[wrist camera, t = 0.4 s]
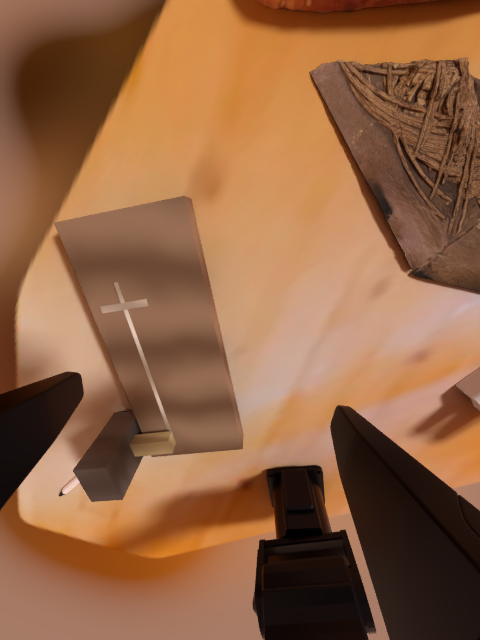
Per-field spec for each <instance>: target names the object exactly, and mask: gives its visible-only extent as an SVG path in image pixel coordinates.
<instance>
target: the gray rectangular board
mask: <svg viewBox="0 0 480 640" xmlns="http://www.w3.org/2000/svg"><path fill="white" fill-rule="evenodd" d="M54 224H55V226H56V229H57V231H58V234H59V236H60V238H61V241H62V243H63V245H64V248H65V250H66V253H67V255H68V257H69V260H70V262H71V265H72V267H73V269H74V272H75V274H76V277H77V279H78V281H79V284H80V286H81V288H82V291H83V293H84V296H85V298H86V300H87V303H88V305H89V308H90V310H91V312H92V315H93V317H94V320H95V322H96V324H97V327H98V329H99V331H100V334H101V336H102V339H103V341H104V343H105V346H106V348H107V351H108V353H109V355H110V358H111V360H112V363H113V365H114V367H115V370H116V372H117V374H118V377H119V379H120V382H121V384H122V386H123V389H124V391H125V394H126V396H127V398H128V401H129V403H130V406H131V408H132V410H133V413H134V415H135V417H136V420H137V422H138V425H139V427H140V429H141V432H142V434H148V433H158V432H168V431H172V433H173V436H174V439H175V441H176V445H175V447H174V450H173V453H170V454H159V455H151V456H152V457H157V456H168V455H180V454H191V453H203V452H214V451H226V450H237V449H243V430H242V426H241V421H240V417H239V412H238V408H237V403H236V399H235V394H234V390H233V385H232V381H231V376H230V372H229V367H228V363H227V358H226V354H225V349H224V345H223V340H222V336H221V331H220V327H219V322H218V318H217V313H216V309H215V304H214V300H213V295H212V291H211V286H210V282H209V277H208V273H207V268H206V264H205V259H204V255H203V250H202V246H201V241H200V237H199V232H198V228H197V223H196V219H195V214H194V210H193V205H192V201H191V199H190V198H188V197H186V196H182V197H177V198H172V199H167V200H162V201H157V202H153V203H148V204H143V205H138V206H133V207H128V208H123V209H119V210H114V211H109V212H104V213H99V214H94V215H89V216H85V217H80V218H75V219H70V220H65V221H60V222H55V223H54Z"/></svg>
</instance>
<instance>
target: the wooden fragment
mask: <svg viewBox="0 0 480 640" xmlns="http://www.w3.org/2000/svg"><path fill="white" fill-rule="evenodd" d="M468 64H469V63H468V58H467V57H466V58H460V59H456V60H440V61H432V60H427V59H424V60H418V61H413V62H411V63H406V64H402V63H393V62H390V63H387V62H386V63H378V64H375V65H362V64H360V63H358V62H345V61H344V60H338V61H336V62H332V63H325V64H321V65H320V66H319V67H318V68H316V69H315V70H313V71H311V72H310V74H311V75H312V77H313V79H314V81H315V83H316V85H317V87H318V89H319V91H320V93H321V95H322V97H323V99H324V101H325V102H326V104H327V106H328V108H329V110H330V112H331V114H332V115H333V117H334V119H335V121H336V123H337V126H338V127H339V129H340V131H341V133H342V134H343V136H344V139H345V141H346V143H347V144H348V146H349V148H350V150H351V152H352V154H353V156H354V158H355V160H356V162H357V164H358V165H359V168H360V169H361V171H362V173H363V175H364V177H365V179H366V181H367V183H368V184H369V186H370V188H371V190H372V192H373V193H374V195H375V197H376V198H377V200H378V202H379V204H380V207H381V208H382V211H383V213H384V214H385V216H386V219H387V221H388V223H389V225H390V227H391V229H392V231H393V233H394V235H395V237H396V239H397V241H398V243H399V244H400V246H401V249H403V252H405V256H406V259H407V261H408V263H409V265H410V266H411V269H412V271H413V275H414V276H417V277H421V278H426V279H428V278H429V279H431V280H435V281H439V282H444V283H448V284H451V285H455V286H460V287H464V288H469V289H472V290H476V291H480V80H479V79H477V78H474V77H473V76H472V75H471V74H469V72H468ZM421 266H422V267H421ZM420 267H421V268H420ZM418 268H420V269H418ZM416 269H418V270H416ZM415 270H416V271H415ZM414 271H415V272H414Z"/></svg>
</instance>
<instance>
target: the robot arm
mask: <svg viewBox="0 0 480 640" xmlns="http://www.w3.org/2000/svg"><path fill="white" fill-rule="evenodd" d="M83 394H84V391H83V384H82V378H81V375H80V374H79V373H76V372H64V373H61V374H58V375H55V376H52V377H49V378H47V379H44V380H41V381H38V382H35V383H32V384H29V385H26V386H23V387H20V388H18V389H15V390H12V391H9V392H6V393H3V394H0V510H1V509H2V507H3V506H4V505H5V504H6V502H7V501H8V500H9V498H10V497H11V496H12V495H13V493H14V492H15V491H16V490H17V488H18V487H19V486H20V484H21V483H22V482H23V481H24V479H25V478H26V477H27V476H28V474H29V473H30V472H31V470H32V469H33V468H34V467H35V465H36V464H37V463H38V462H39V460H40V459H41V458H42V456H43V455H44V454H45V453H46V451H47V450H48V449H49V447H50V446H51V445H52V444H53V442H54V441H55V439H56V438H57V437H58V435H59V434H60V432H61V431H62V429H63V428H64V426H65V425H66V423H67V421H68V420H69V418H70V417H71V415H72V414H73V412H74V411H75V409H76V408H77V406H78V404H79V403H80V401H81V400H82V398H83ZM330 428H331V435H332V440H333V445H334V450H335V455H336V460H337V465H338V470H339V474H340V478H341V482H342V485H343V488H344V492H345V495H346V498H347V501H348V505H349V508H350V511H351V515H352V518H353V521H354V524H355V527H356V531H357V534H358V537H359V541H360V544H361V547H362V550H363V554H364V557H365V560H366V564H367V567H368V570H369V573H370V577H371V580H372V583H373V586H374V589H375V593H376V596H377V599H378V602H379V606H380V609H381V612H382V616H383V619H384V622H385V625H386V629H387V632H388V635H389V638H390V640H480V511H479V510H478V509H477V508H475V507H474V506H473V505H472V504H471V503H469V502H468V501H467V500H465V499H464V498H463V497H462V496H460V495H457V493H456V491H454V490H453V489H452V488H451V487H449V486H448V485H447V484H446V483H444V482H443V481H442V480H441V479H439V478H438V477H437V476H436V475H434V474H433V473H432V472H431V471H429V470H428V469H427V468H426V467H424V466H423V465H422V464H421V463H419V462H418V461H417V460H416V459H414V458H413V457H412V456H411V455H409V454H408V453H407V452H406V451H404V450H403V449H402V448H401V447H399V446H398V445H397V444H396V443H395V442H393V441H392V440H391V439H390V438H388V437H387V436H386V435H385V434H383V433H382V432H381V431H380V430H378V429H377V428H376V427H375V426H373V425H372V424H371V423H370V422H368V421H367V420H366V419H365V418H363V417H362V416H361V415H360V414H358V413H357V412H356V411H355V410H353V409H352V408H351V407H349V406H342V405H338V406H337V407H336V408H335V411H334V415H333V418H332V421H331V426H330ZM266 476H267V481H268V486H269V492H270V497H271V502H272V507H273V508H274V514H275V527H276V539H274V540H265V539H264V540H260V541H259V549H258V554H257V555H258V556H257V568H256V581H255V592H254V597H253V610H254V612H255V613H256V615H257V616H258V622H259V628H260V632H261V635H262V638H263V639H264V640H368V636H367V633H369V634H370V633H376V628H375V625H374V621H373V618H372V614H371V610H370V607H369V603H368V600H367V597H366V593H365V590H364V586H363V583H362V580H361V577H360V574H359V570H358V567H357V564H356V561H355V558H354V555H353V552H352V549H351V545H350V542H349V539H348V536H347V533H346V530H340V531H339V532H332V531H331V527H330V523H329V519H328V515H327V511H326V508H325V497H324V483H323V471H322V468H321V467H320V466H312V467H299V468H286V469H273V470H268V471H267V472H266Z"/></svg>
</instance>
